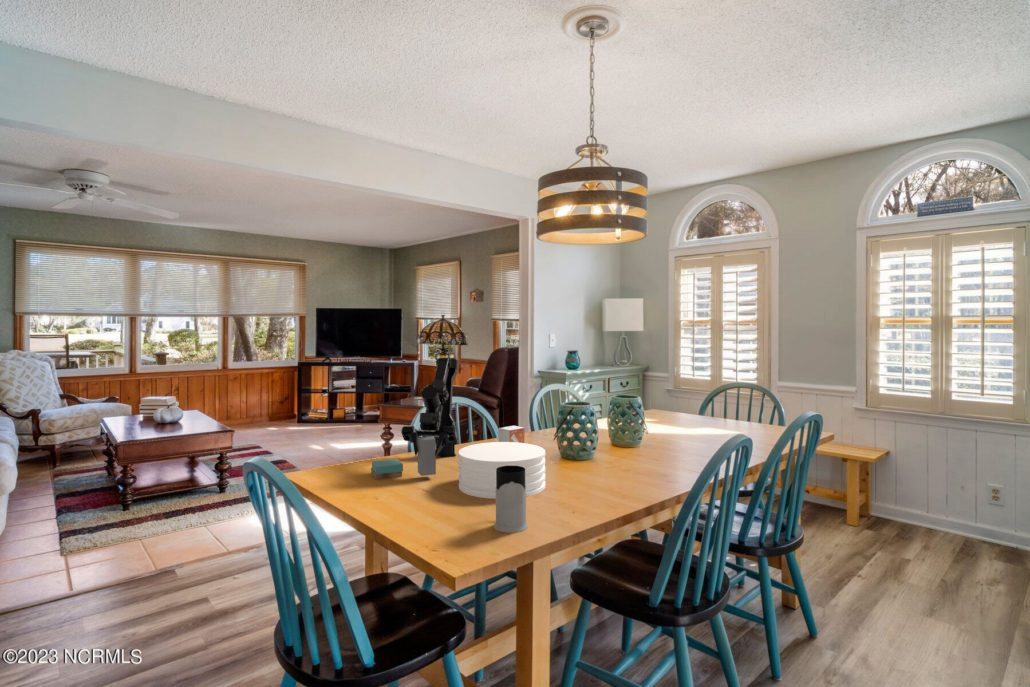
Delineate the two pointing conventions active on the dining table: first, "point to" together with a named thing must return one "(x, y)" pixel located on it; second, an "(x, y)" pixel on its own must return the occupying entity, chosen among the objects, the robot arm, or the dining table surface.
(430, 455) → the grey pillar block
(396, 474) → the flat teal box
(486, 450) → the plate stack
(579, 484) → the dining table surface
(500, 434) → the small box
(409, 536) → the dining table surface
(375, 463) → the teal slab
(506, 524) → the glass holder
